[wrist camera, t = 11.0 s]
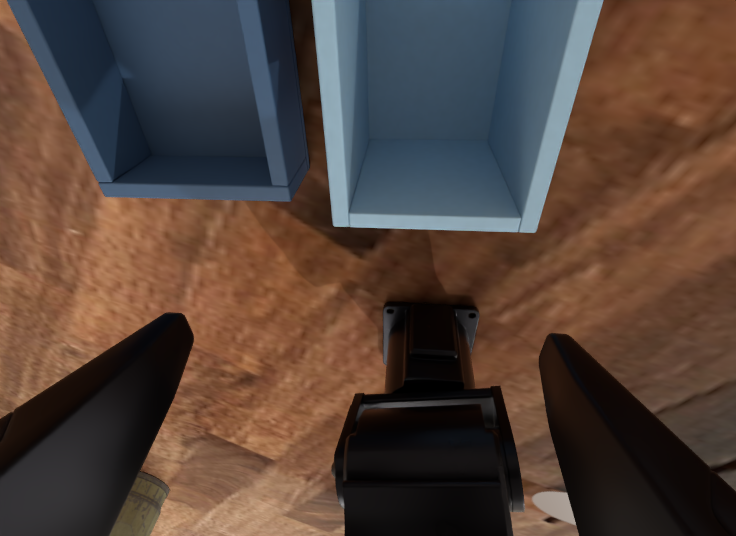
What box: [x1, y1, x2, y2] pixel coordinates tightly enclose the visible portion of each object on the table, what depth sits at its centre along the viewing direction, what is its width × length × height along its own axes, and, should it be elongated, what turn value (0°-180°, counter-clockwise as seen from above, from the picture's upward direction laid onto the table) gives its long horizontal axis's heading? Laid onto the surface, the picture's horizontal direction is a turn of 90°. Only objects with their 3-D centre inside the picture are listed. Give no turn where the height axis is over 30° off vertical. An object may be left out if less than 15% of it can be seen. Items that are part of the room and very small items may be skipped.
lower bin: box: [7, 0, 310, 201], centre depth 15 cm, size 14×9×4 cm, turn 1°
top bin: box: [312, 0, 603, 233], centre depth 13 cm, size 12×7×8 cm, turn 1°
